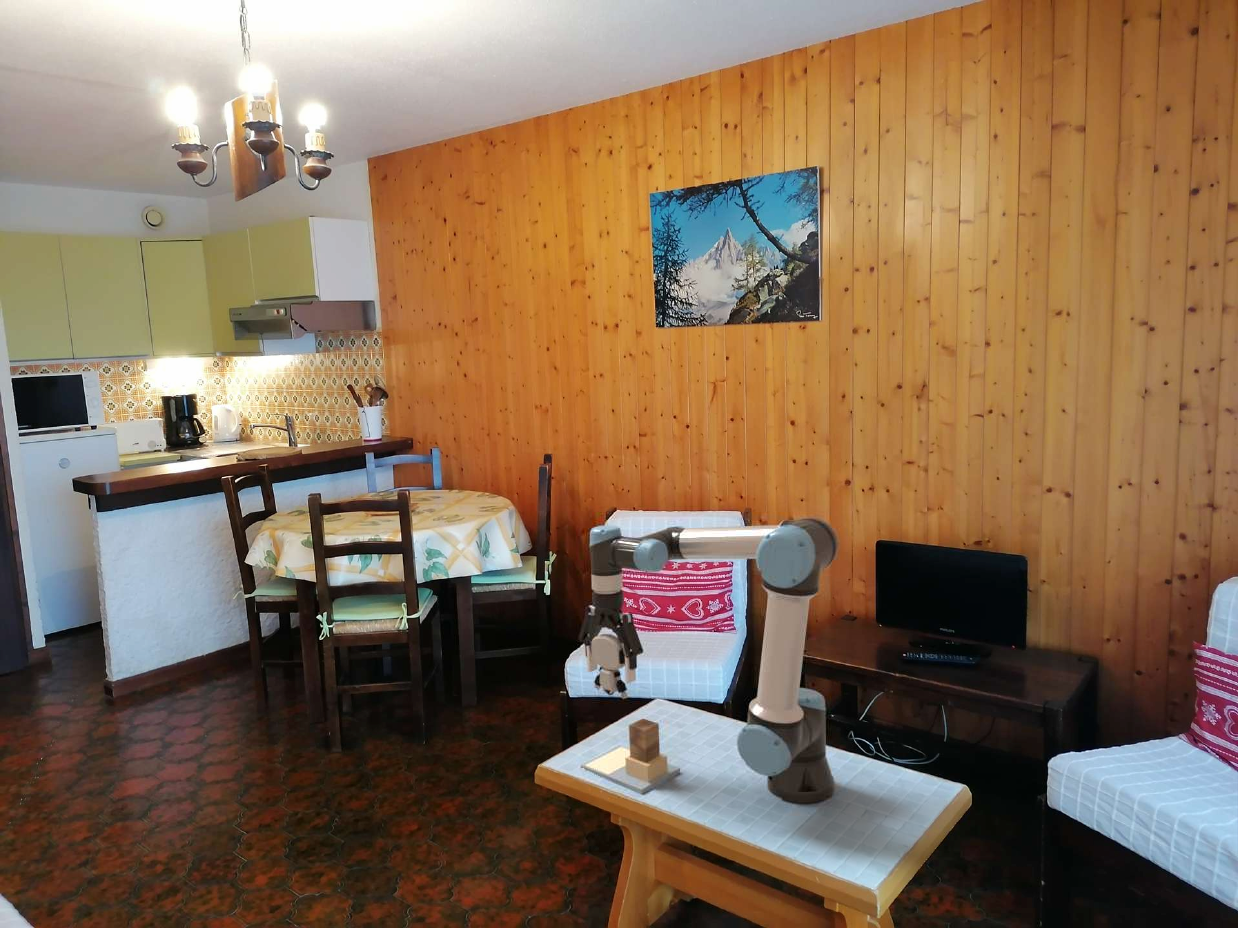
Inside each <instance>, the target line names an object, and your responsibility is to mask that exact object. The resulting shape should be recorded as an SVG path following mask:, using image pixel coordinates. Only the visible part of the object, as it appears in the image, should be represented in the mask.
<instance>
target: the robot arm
mask: <svg viewBox="0 0 1238 928" xmlns="http://www.w3.org/2000/svg"><path fill="white" fill-rule="evenodd" d="M621 531H622V530H621V527H620V526H617V525H611V524H609V525H608V524H607V525H598V526H595V527H592V528H591V530H590V531H589V545H588V547H589V552H590V553H589V555H590V565H591V570H590V571H591V590H593V591H592V593H591V595H592V597H591V598H592V605H589V606H585V609H584V618H583V621H582V624H581V628H580V632H579V635H578V639H577V640H578V641H579V642H582V643H583V645H584V649H585V651H584V652H585V657H586V660H587V665H586V666H587V672H588V673H591V672H594V671H596V670H598V664H597V663H596V662H595V661H594V659H593V657H592V653H591V643H590V640H591V641H592V640H593V638H594V637H596V636H599V634H600V633H601V630H602V629H603V628H604V629H606V628H607V629H608V630H611V631H612V632H613V634H615V635H616V637H617V638H618V639H619V641H620V642H621V644H622V643H623V644H624V648H625V652H626V653H627V656H625V666H624V667H625V668H624V669H625V684H630V683H632V682H636V681H637V678H636V677H637V676H636V675H637V674H636V673H637V672H636V669H637V667H638V660H637V659H638V658H637V657H638V656H639V655H641V654H643V653H644V649H643V646H642V643H641V640H640V637H639V635H638V632H637V629H636V626H635V623H634V615H633V614H632V613H631V612H629V613H624V612H623V609H622V608H623V606H624V603H625V601H624V600H625V598H624V591H623V587H624V586H623V585H624V584H623V583H624V581H623V569H625V570H633V571H640V572H644V573H649V572H651V573H652V572H653V573H658V572H661V571H662V570H663V568H664V567H665V566H666V564H667V562H669V561H673V560H675V561H677V560H678V561H679V560H743V559H744V560H751V559H752V560H754V559H755V562H756V567H757V570H758V572H759V573H760V574H761V577H762V579H761V580H762V581H761V586H762V588H763V589H764V591H765V592H766V593H767V603H766V604H767V605H766V612H765V622H764V631H763V638H762V639H763V641H762V648H761V649H762V651H761V658H760V659H761V660H760V668H759V676H758V687H757V694H756V697H755V698H754V699H752V700H751V701H750V703H749V706H748V712H747V721H746V725H745V726H744V727H742V728H741V730H740V731H739V733H738V735H737V737H736V738H737V739H736V747H737V751H738V753H739V755H740V758H741V759H742V760H744V761H743V762H745V765H746V766H747V767H748V768H750V770H752V771H754V772H755V773H757V774H759V775H762V776H766V777H767V778H766V779H767V780H766V782H767V784H766V785H767V789H768V791H769V792H770V793H771V794H772V795H773V796H776V797H777V798H779V799H781V800H783V801H785V802H790V803H794V804H795V803H796V804H814V803H818V802H823V801H826V800H828V799H830V797H832V796H833V794H834V792H835V779H834V776H833V773H832V771H831V767H830V765H829V762H828V759H827V753H826V752H827V749H826V748H827V744H826V743H827V741H826V738H827V737H826V736H827V734H826V731H827V730H826V729H827V728H826V727H827V726H826V725H827V723H826V719H827V718H826V711H827V708H826V700H825V696H824V695H823V694H821V693H820V692H818V691H816V690H813V689H810V688H807V687H806V688H805V687H800V684H801V675H802V668H803V659H804V651H805V643H806V633H807V625H808V619H809V618H808V617H809V609H810V600H811V599H812V598H814V597H815V596H817V595H818V594H819V589H820V580H821V572H822V571H823V570H825V569H827V568H828V567H829V566H830V565H832V564H833V563H834V561H835V559H836V558H837V556H838V552H839V547H840V546H839V538H838V535H837V533H836V531H835V530H834V528H833V527H832V526H831V525H830V524H829V523H828V522H827V521H825V520H823V519H821V518H817V517H805V518H800V519H799V518H798V519H785V520H782V521H781V522H780V523H779V524H776V525H775V524H773V525H771V524H769V525H768V524H767V525H748V526H747V525H746V526H745V525H744V526H743V525H740V526H713V527H692V528H691V527H689V528H688V527H686V528H685V527H683V526H679V525H677V526H670V527H667V528H665V529H663V530H660V531H656V532H653V533H649V534H646V535H643V536H641V537H631V536H629V537H628V536H623V535H622V532H621ZM595 617H596V619H595ZM588 634H589V637H588Z"/></svg>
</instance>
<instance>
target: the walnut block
mask: <svg viewBox="0 0 1238 928" xmlns="http://www.w3.org/2000/svg"><path fill="white" fill-rule="evenodd" d="M628 737H629V738H628V739H629V740H628V741H629V749H630V757H631V758H633V759H636V760H639V761H641V762H644V763H647V762H649V761H651V760H653V759H655V758H657V757H658V756H660V754H661V753H660V751H661V750H660V749H661V748H660V728H659V723H658V722H655V721H652V720H649V719H645V718H641V719H639V720H636V721H635V722H633V723H630V724H629V725H628Z"/></svg>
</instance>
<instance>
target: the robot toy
mask: <svg viewBox="0 0 1238 928" xmlns="http://www.w3.org/2000/svg"><path fill="white" fill-rule="evenodd" d="M588 637H589V634H588ZM590 643H591V653H592V657H593V659H594V661H595V662H596V663H597V666H600V667H599V669H598V671H599V674H597V675H596V676H595V679H594V681H593V682H594V683H593V684H594V688H595V689H596V690H597V691H599V690H600V689H601V688H602V691H603V692H604V693H605V694H607V695H608V696H613V695H614V694H615V692H618V694H620V697H621V698H622V699H623V700H624V699H627V698H628V693H627V692H626V691H628V688H627V686H626V682H624V680H622V678H621V675H622V674H621V671H620V669H622V668H624V667H625V656H627V653H626V652H625V648H624V644H623V643H622V644H621V642H620V641H619V639H618V637H617V636H615V635H613V634H612V633H611V634H610V633H602V634H600V635H599V634H598V636H596V637H594V638H593V640H592V641H591V640H590Z"/></svg>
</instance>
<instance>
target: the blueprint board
mask: <svg viewBox="0 0 1238 928" xmlns="http://www.w3.org/2000/svg"><path fill="white" fill-rule="evenodd" d="M581 768H584V769H585V770H588V771H590V772H592V773H594V774H593V775H595V774H596V775H595V776H597V775H598V776H597V777H599V776H600V778H602V777H603V778H602V779H604V778H605V780H606V779H607V780H606V781H609V782H611V783H614V784H616V785H619V786H621V787H623V788H626V789H628V790H630V791H631V792H632V791H633V792H635V793H637V794H639V795H643V794H645V793H646V792H648V791H651V790H652V789H654V788H656V787H658V786H659V785H661V784H662V783H664V782H666V781H668V780H669V779H670V780H671V778H673V777H675V776H677V775H679V774H681V768H680V766H676V765H674V764H671V763H668V755H666V754H663V753H660V756H658V757H657V758H655V759H653V760H651V761H649V762H647V763H644V762H641V761H639V760H636V759H633V758H631V757H630V748H627V747H624V746H621V745H618V746H617V747H614V748H613V749H611V750H610V749H609V750H608V751H606V752H604V753H602V754H600V755H598V756H596V757H594V758H592V759H590V760H587V761H586V762H584V763H581V764H580V769H581ZM585 770H584V771H585ZM590 772H589V773H590ZM592 773H591V774H592Z"/></svg>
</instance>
